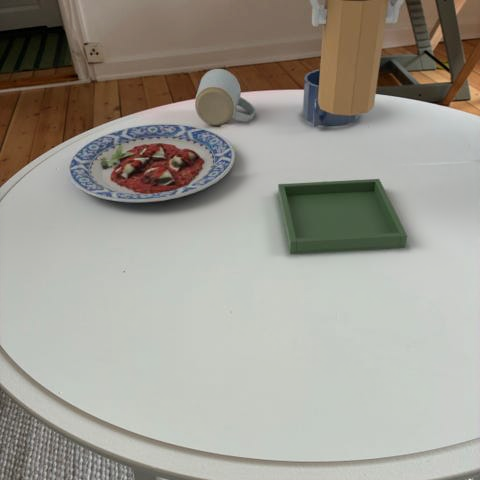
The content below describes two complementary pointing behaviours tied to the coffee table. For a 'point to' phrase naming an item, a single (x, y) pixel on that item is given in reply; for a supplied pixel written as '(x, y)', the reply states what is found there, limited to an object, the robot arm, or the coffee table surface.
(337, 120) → the blue mug
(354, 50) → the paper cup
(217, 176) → the ceramic plate
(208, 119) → the ceramic mug
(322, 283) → the coffee table surface
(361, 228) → the green tray
